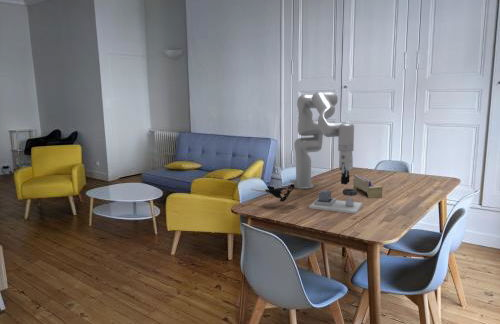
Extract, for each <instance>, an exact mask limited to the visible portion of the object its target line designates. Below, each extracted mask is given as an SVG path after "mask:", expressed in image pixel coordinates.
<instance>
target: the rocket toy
mask: <svg viewBox="0 0 500 324" xmlns="http://www.w3.org/2000/svg"><path fill="white" fill-rule="evenodd" d="M294 188H295V185H294V183H291V184H290V185H289V187H288V188H286V187H278V188H276V187H275V188H273V189H267V188H250V190H251V191H256V192H261V193H267V194H271V195H272V196H273V197H275V198H276V199H279V202H285V201H286V200H287V198H288V197H289V195H290V194H291V192H292V191H293V189H294ZM283 190H286V192H285V193H283V196H282V195H281V194H282V192H283Z"/></svg>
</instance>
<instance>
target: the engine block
mask: <svg viewBox="0 0 500 324" xmlns="http://www.w3.org/2000/svg"><path fill="white" fill-rule="evenodd" d="M318 198H319V202H328V203H330V202H331V198H332V191H331V190H329V189H322V190H321V191H319V192H318Z"/></svg>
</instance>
